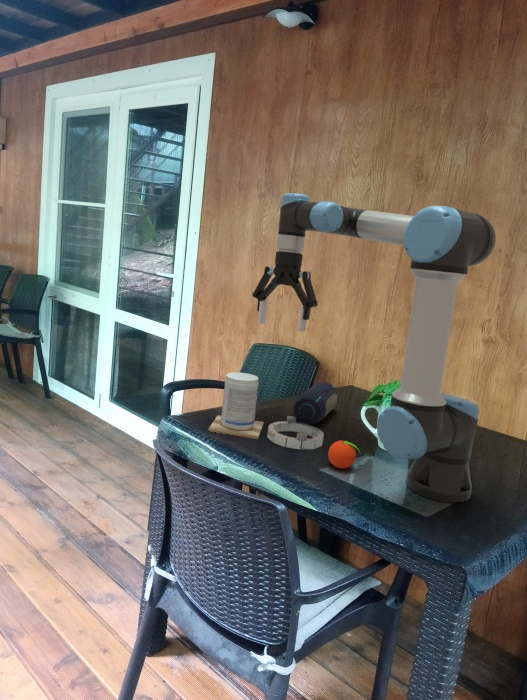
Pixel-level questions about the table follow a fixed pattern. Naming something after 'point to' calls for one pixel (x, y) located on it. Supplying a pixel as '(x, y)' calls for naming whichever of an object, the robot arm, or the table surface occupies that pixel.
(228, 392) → the supplement tub
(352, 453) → the clementine
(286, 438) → the collar
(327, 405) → the portable speaker
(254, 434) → the mat
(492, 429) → the table surface
